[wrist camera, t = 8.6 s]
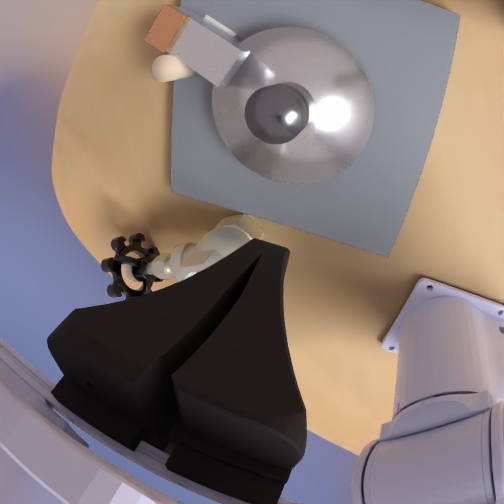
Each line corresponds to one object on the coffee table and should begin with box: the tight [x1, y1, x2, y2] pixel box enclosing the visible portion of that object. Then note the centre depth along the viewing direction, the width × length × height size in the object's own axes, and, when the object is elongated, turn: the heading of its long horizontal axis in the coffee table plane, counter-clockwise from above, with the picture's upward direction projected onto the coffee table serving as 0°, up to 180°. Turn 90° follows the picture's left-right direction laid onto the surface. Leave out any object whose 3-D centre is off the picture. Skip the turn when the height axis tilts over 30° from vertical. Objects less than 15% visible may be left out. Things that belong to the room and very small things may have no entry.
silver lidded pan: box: [144, 4, 374, 185], centre depth 15 cm, size 14×9×4 cm, turn 56°
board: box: [151, 0, 460, 258], centre depth 16 cm, size 16×16×4 cm
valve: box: [101, 214, 264, 300], centre depth 24 cm, size 7×7×12 cm
